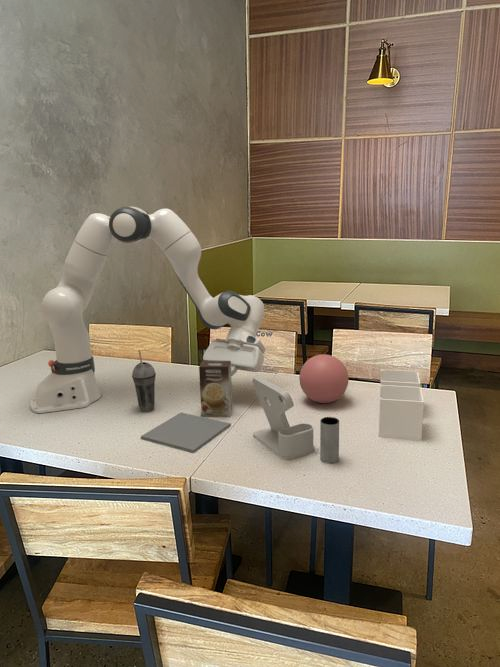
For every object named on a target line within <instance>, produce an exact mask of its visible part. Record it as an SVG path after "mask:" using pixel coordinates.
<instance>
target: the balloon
mask: <svg viewBox="0 0 500 667" xmlns="http://www.w3.org/2000/svg"><path fill="white" fill-rule="evenodd" d="M298 378H299V379H298V380H299V385H300V388H301V390H302V392H303V393H304V395H306V397H307V398H308V399H310V400H312V401H313V402H316V403H320V404H328V403H332V402H333V403H334V402H335V401H337V400H339V399H341V397H342V396H343V395H344V394H345V392H346V390H347V388H348V386H349V373H348V370H347V368H346V366H345V365H344V363H343V362H342V361H341V359H339V358H337V357H336V356H334V355H330V354H324V353H323V354H316V355H314V356H312V357H310V358H309V359H307V360H306V361H305V363H304V364H303V365H302V366H301V369H300V372H299V376H298Z"/></svg>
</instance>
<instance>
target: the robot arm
mask: <svg viewBox="0 0 500 667" xmlns="http://www.w3.org/2000/svg"><path fill="white" fill-rule="evenodd" d="M145 239H150V240H152V241H154V242H155V244H156V245H157V246H158V247H159V249H160V250H161V252H163V254H164V255H165V257H166V258H167V259H168V261H169V263H170V265H171V266H172V268H173V270H174V273H175V276H176V277H177V279H178V281H179V282H180V285H181V286H182V288H183V289H184V291H185V292H186V294H187V295H188V297H189V299H190V301H191V302H192V303H193V305H194V307H195V309H196V312H197V315H198V318H199V320H200V322H201V324H202V325H203V326H204V327H206V328H208V329H210V330H218V329H221V328H222V327H224V326H225V325H226V324H228V325H229V326H230V328H229V330H228V333H227V336H226V338H225V339H224V338H223V339H220V338H215V339H213V340H211V341H210V343H209V345H208V347H207V348H206V350H205V352H204V354H203V356H202V361H203V360H217V361H231V377H233V376H234V375H235V374H236V373H237V372H238V370H239V371H244V372H252V373H259V372H260V371H261V369H262V366H263V362H264V359H265V355H264V354H265V353H266V347H265V345H264V344H263V342H262V341H261V340H260V338H258V337H257V332H258V331H259V329H260V327H261V324H262V321H263V318H264V315H265V304H264V302H263V301H262V300H261V299H260V298H259V297H257V296H255V295H252V294H249V295H241V294H239V293H237V292H235V291H233V290H226V291H223V292H221V293H219V294H217V295H216V296H214V297H213V296H212V295H211V294H210V293H209V291H208V289H207V288H206V286H205V285H204V282H203V281H202V280H201V279H200V276H199V272H198V267H199V263H200V260H201V258H202V247H201V246H202V245H201V244H200V243H199V240H198V238H197V237H196V235H195V234H194V232H192V231H191V229H190V227H189V226H188V225H187V224H186V223H185V221H183V219H181V217H180V216H179V215H178V214H176V213H175V212H174V211H173V210H172V209H169V208H160V209H159V210H156V211H155V212H153V213H151V214H149V212H148V211H147V210H145V209H143V208H140V207H138V206H133V205H132V206H122V207H119V208H117V209H115V210H114V211H113V212H112V213H111V215H110V216H108V215H107V214H104V213H100V212H98V213H97V212H95V213H91V214H90V215H89V216H88V217H87V218H86V219H85V220H84V222H83V223H82V225H81V227H80V228H79V231H77V234H76V236H75V238H74V240H73V242H72V245H71V248H70V249H69V251H68V254H67V256H66V258H65V259H64V260H65V261H64V265H63V266H64V267H63V272H62V274H61V278H60V280H59V283H58V284H57V286H56V287H55V288H52V289H50V290H48V291H47V293H45V295H44V297H43V299H42V300H41V303H40V304H41V306H40V309H41V312H42V315H43V316H44V317H45V319H46V320H47V322H48V326H49V329H50V331H51V334H52V338H53V344H54V352H55V358H56V360H53V359H49V360H48V362H47V365H48V367H50V370H51V372H50V373H49V374H48V375H47V376H46V377H45V378H44V379H43V380H42V381H41V382H39V384H38V385H37V387H36V393H35V396H34V397H33V398H32V399H31V400H30V402H29V408H30V410H31V411H32V412H33V413H34V414H45V413H52V412H59V411H68V410H73V409H74V410H75V409H82V408H87V407H88V406H90V404H92V403H94V402H96V401H97V400H99V399H100V398H101V397H102V393H101V391H100V388H99V386H98V385H99V384H98V383H97V379H96V375H95V371H96V370H95V369H96V367H95V359H94V356H93V355H92V347H91V346H92V345H91V340H90V333H89V331H88V329H87V328H86V324H85V321H84V317H83V312H84V311H85V310H86V309H87V308H88V306H89V303H90V301H91V299H92V296H93V293H94V291H95V288H96V285H97V282H98V279H99V277H100V274H101V272H102V271H103V267H104V266H105V263H106V261H107V259H108V256H109V255H110V252H111V250H112V249H113V246H114V245H115V244H116V243H117V241H119V242H121V243H125V244H136V243H139V242H142V241H143V240H145Z"/></svg>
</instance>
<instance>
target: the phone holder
mask: <svg viewBox="0 0 500 667" xmlns="http://www.w3.org/2000/svg"><path fill="white" fill-rule="evenodd" d="M252 383H253V387H254V389H255V391H256V394H257V396H258V399H259V401H260V404H261V406H262V408H263V412H264V414H265V416H266V419H267V422H268V425H269V427H268V428H267V427H266V428H262V429H260V430H257V431H254V432H253V433H252V436H253V438H254V439H255V440H256V441H258V442H259V443H261V444H262V445H264V446H265V447H266V448H267V449H269V450H270V451H272V452H273V453H274V454H275V455H277V456H278V457H279V458H281V459H282V460H286V461H289V460H292V459H295V458H298V457H301V456H305V455H308V454H311V453H313V452H315V451H316V446H315V445H314V426H313V425H312V424H310V423H300V424H296V425H291V426H290V423H289V420H288V418H287V414H286V412H287V411H288V410H290V409H292V408H293V407H294V406H295V404H294V401H293V398H292V396H291V394H290V393H289V392H288V391H287V390H286V389H284V388H282V387H280V386H278V385H277V384H275V383H273V382H271V381H270V380H268V379H266V378H264V377H262V376H260V375H257V376H255V377H254V378H252Z"/></svg>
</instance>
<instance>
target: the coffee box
mask: <svg viewBox="0 0 500 667" xmlns="http://www.w3.org/2000/svg"><path fill="white" fill-rule="evenodd" d="M198 368H199V369H198V370H199V371H198V372H199V373H198V374H199V390H200V391H199V392H200V411H201V412H200V417H223V418H228V417H230V416H231V414H232V411H233V392H232V391H233V389H232V388H233V387H232V385H233V384H232V376H231V361H217V360H203V359H202V361H201V362H200V363H199V366H198Z"/></svg>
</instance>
